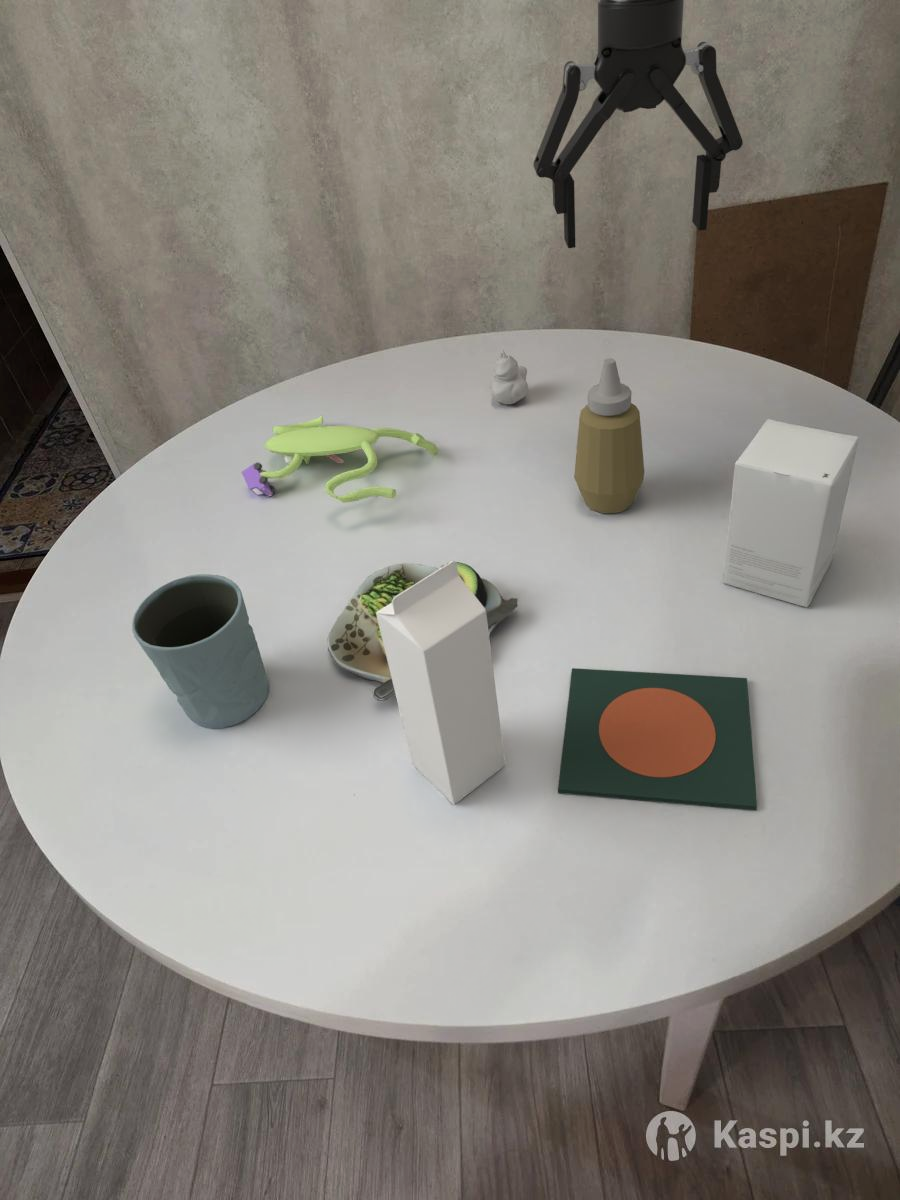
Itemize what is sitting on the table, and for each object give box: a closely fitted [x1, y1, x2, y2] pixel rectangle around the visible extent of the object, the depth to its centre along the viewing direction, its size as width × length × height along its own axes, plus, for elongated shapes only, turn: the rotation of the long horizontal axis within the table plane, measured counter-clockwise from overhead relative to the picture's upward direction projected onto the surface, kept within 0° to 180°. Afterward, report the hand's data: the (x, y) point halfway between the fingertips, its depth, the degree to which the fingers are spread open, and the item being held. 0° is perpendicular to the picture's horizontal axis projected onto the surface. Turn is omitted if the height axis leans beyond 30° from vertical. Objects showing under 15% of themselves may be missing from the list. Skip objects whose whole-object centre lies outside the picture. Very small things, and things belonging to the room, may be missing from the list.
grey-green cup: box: [131, 573, 270, 730], centre depth 82 cm, size 10×10×12 cm
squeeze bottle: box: [573, 357, 645, 514], centre depth 97 cm, size 8×8×18 cm
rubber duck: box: [490, 349, 529, 405], centre depth 121 cm, size 5×7×8 cm
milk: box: [376, 560, 506, 805], centre depth 69 cm, size 6×6×22 cm
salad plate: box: [326, 561, 518, 702], centre depth 88 cm, size 19×18×5 cm
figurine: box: [241, 414, 439, 504], centre depth 112 cm, size 18×27×6 cm
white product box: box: [722, 418, 860, 608], centre depth 85 cm, size 9×9×15 cm
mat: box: [557, 667, 758, 811], centre depth 76 cm, size 16×14×1 cm
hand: (634, 234), depth 91 cm, fingers open, 13 cm apart
